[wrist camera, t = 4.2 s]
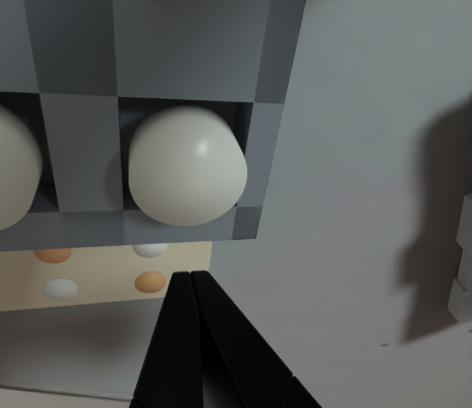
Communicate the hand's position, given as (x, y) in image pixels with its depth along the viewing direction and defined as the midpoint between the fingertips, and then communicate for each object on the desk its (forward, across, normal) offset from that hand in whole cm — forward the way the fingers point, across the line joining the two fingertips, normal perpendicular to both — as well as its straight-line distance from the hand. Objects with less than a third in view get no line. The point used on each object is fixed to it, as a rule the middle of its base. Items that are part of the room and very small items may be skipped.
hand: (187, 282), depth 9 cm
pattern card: (+10, +3, +9) cm, 14 cm away
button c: (+7, -1, +1) cm, 8 cm away
